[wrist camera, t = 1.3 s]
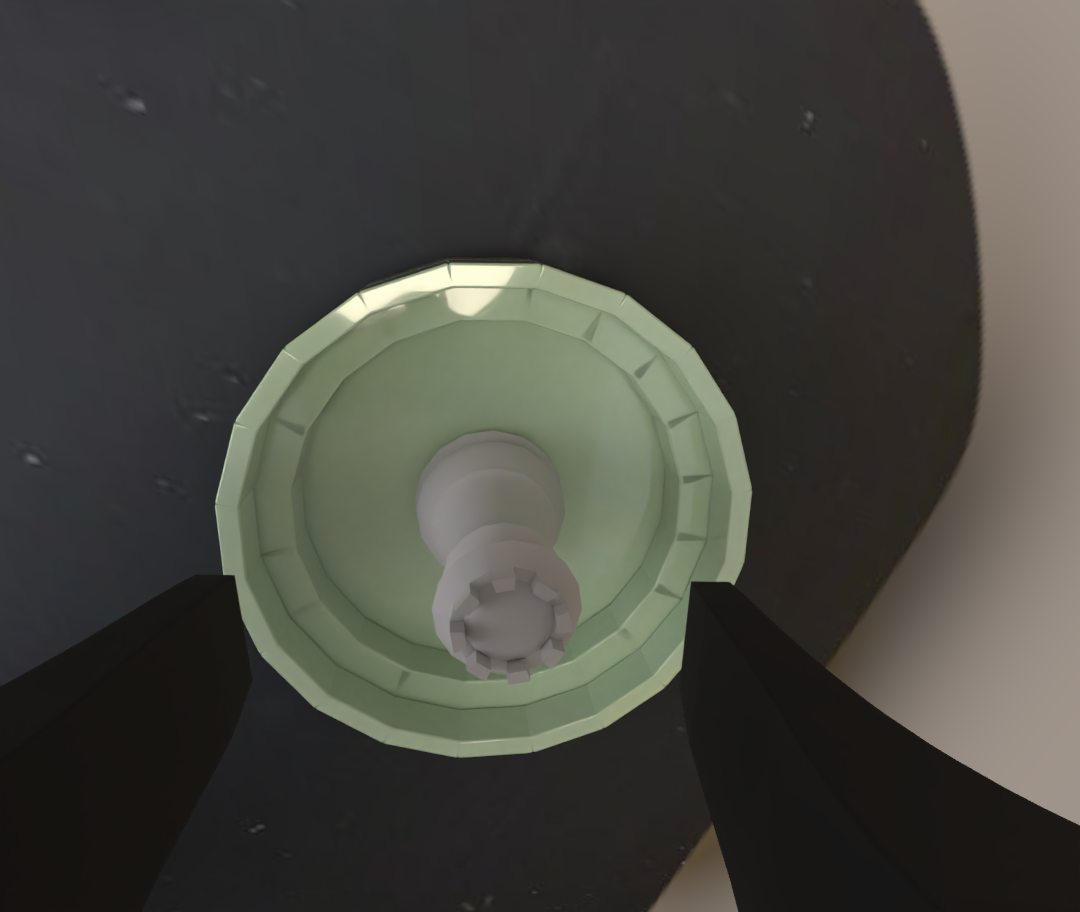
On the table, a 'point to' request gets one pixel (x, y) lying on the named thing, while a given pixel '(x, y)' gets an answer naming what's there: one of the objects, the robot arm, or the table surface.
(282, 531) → the dish
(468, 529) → the rook chess piece
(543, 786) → the table surface
